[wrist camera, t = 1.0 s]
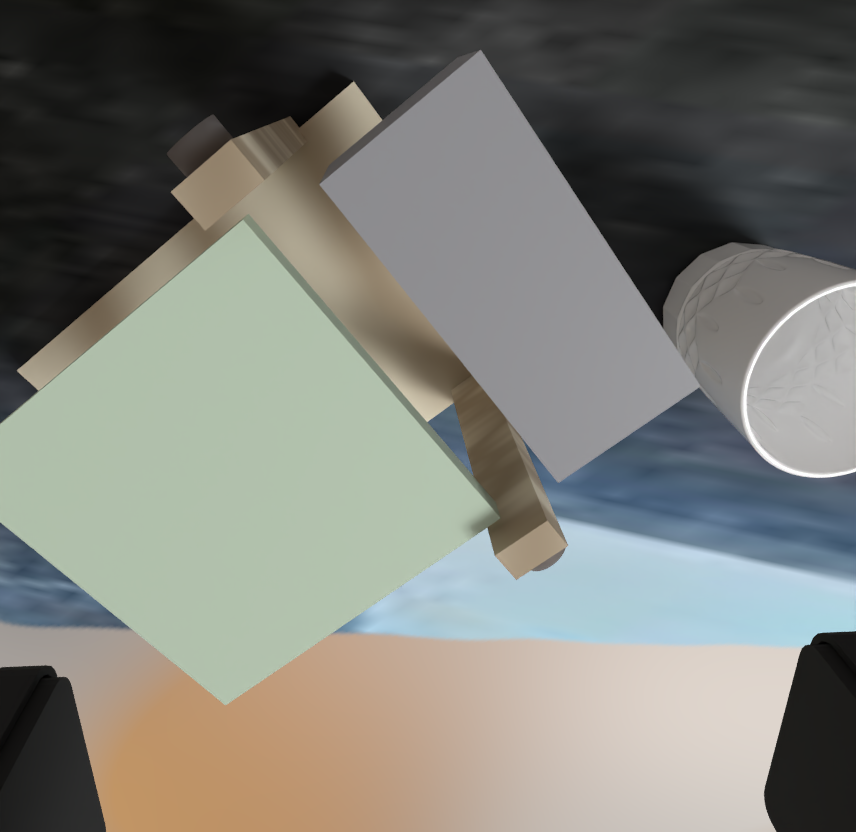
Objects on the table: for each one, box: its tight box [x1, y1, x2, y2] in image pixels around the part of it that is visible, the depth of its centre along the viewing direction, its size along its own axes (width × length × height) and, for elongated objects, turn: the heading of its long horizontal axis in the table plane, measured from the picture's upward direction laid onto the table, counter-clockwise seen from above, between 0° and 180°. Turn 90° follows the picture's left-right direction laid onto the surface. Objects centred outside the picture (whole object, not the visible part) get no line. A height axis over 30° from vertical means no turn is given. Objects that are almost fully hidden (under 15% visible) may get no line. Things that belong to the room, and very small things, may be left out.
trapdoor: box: [0, 50, 700, 705], centre depth 24 cm, size 19×12×5 cm, turn 127°
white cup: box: [663, 242, 856, 478], centre depth 32 cm, size 8×8×10 cm
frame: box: [17, 82, 568, 580], centre depth 29 cm, size 20×17×15 cm
